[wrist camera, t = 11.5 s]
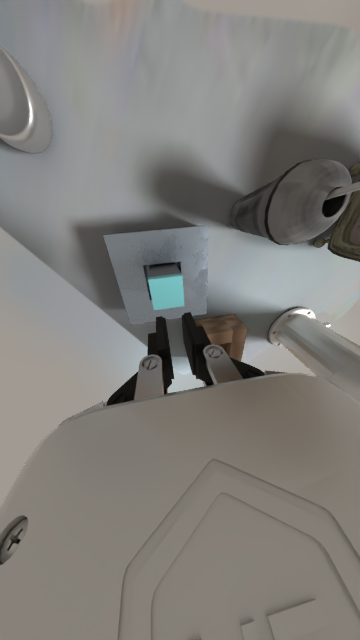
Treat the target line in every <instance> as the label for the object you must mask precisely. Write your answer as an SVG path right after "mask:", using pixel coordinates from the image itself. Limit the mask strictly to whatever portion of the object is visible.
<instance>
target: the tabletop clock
mask: <svg viewBox="0 0 360 640" xmlns="http://www.w3.org/2000/svg"><path fill="white" fill-rule="evenodd" d="M359 174H360V162H359V163H357V164H355V165H354V166H353V167H352V168H351V170H350V175H351V176H357V175H359ZM359 182H360V180H359ZM325 243H328V250H330V251H331V252H332V253H333V254H336V255H338V256H340V257H343V258H347V259H351V260H355V261H359V262H360V190H357V191H354V192H352V194H351V195H350V199H349V202H348V204H347V206H346V208H345V210H344V211H343V212H342V214H341V215H340V216H339V218H338V220H337V222H336V225H335V227H334V229H333V231H332V233H331V236H330V239H327V240H324V239H318V240H316V241H315V243H314V246H315V247H317V248H320V247H322V246H323V245H324V244H325Z"/></svg>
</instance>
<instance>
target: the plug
mask: <svg viewBox="0 0 360 640" xmlns="http://www.w3.org/2000/svg"><path fill="white" fill-rule="evenodd" d="M148 282H149V287H150V293H151V298H152V303H153V308H154V310H160V309H167V308H174V307H182V306H184V292H183V277H182V274H181V273H180V271H179V269H178V268H177V266H176V264H175V263H174V262H170V263H161V264H152V265H149V274H148Z"/></svg>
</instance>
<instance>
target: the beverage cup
mask: <svg viewBox="0 0 360 640" xmlns="http://www.w3.org/2000/svg"><path fill="white" fill-rule="evenodd" d="M357 190H360V182H357V183H354V184H352V179H351V176H350V173H349V171H348V169H347V168H346V167H345V166H344V165H343V164H342V163H340V162H338V161H334V160H329V159H316V160H307V161H304V162H300V163H297V164H296V165H295V166H293V167H292V168H290V169H289V170H288V171H286V172H285V174H283V175H282V176H280V177H279V178H278V179H276V180H275V181H273V182H271V183H269V184H267V185H265V186H264V187H262V188H260V189H258V190H256V191H254V192H252V193H250V194H249V195H247V196H245V197H244V198H242V199H240V200H239V201H238V202H236V204H235V205H234V206H233V208H232V211H231V215H230V220H231V224H232V226H233V227H234V228H235V229H237V230H240V231H243V232H247V233H250V234H254V235H258V236H262V237H266V238H268V239H270V240H271V241H273V242H275V243H277V244H279V245H289V244H296V243H300V242H304V241H307V240H310V239H312V238H314V237H316V236H318V235H319V234H321V233H322V232H324V231H325V230H327V229H328V228H329V227H330V226H331V225H332V224H333V223H334V222H335V221H336V220H337V219H338V218H339V216H340V215H341V214H342V212H343V211H344V210H345V208H346V206H347V204H348V202H349V199H350V195H351V192H354V191H357Z"/></svg>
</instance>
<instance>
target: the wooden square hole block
mask: <svg viewBox="0 0 360 640" xmlns="http://www.w3.org/2000/svg"><path fill="white" fill-rule="evenodd" d="M194 321H195V323H196V326H203V328H204V330H205V332H206V334H207V336H208V338H209V340H210V342H211V344H212V345H218V346H220V347H222V348H223V349H224V350H225V352H226V353H227V355H228V356H229V357H231V358H233V359H236V360H238V361H241V358H242V354H243V349H244V344H245V339H246V334H247V329H248V328H247V327H246V326H245V325H244V324H243V323H242V322H241V321H240V320H239V318H238V317H237V316H236V315H235V314H233V315H226V316H220V317H213V318H206V319H200V320H194Z"/></svg>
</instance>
